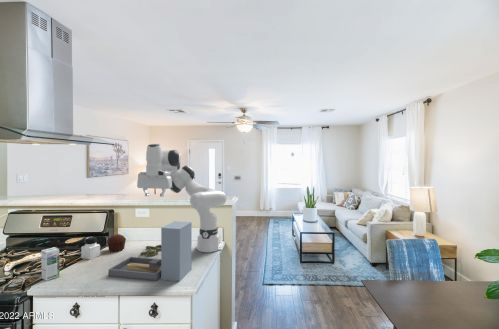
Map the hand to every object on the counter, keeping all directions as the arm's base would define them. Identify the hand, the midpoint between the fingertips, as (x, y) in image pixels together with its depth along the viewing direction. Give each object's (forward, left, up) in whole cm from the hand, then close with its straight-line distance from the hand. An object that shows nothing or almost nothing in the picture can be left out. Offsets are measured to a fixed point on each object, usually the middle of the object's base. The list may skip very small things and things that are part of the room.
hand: (154, 196), depth 147 cm
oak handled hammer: (+10, -1, -38) cm, 40 cm away
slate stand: (+10, +19, -39) cm, 45 cm away
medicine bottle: (-2, -44, -39) cm, 59 cm away
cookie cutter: (-18, -12, -40) cm, 45 cm away
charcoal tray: (+10, -1, -39) cm, 40 cm away
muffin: (-16, -37, -39) cm, 56 cm away
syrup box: (+26, -42, -39) cm, 63 cm away
